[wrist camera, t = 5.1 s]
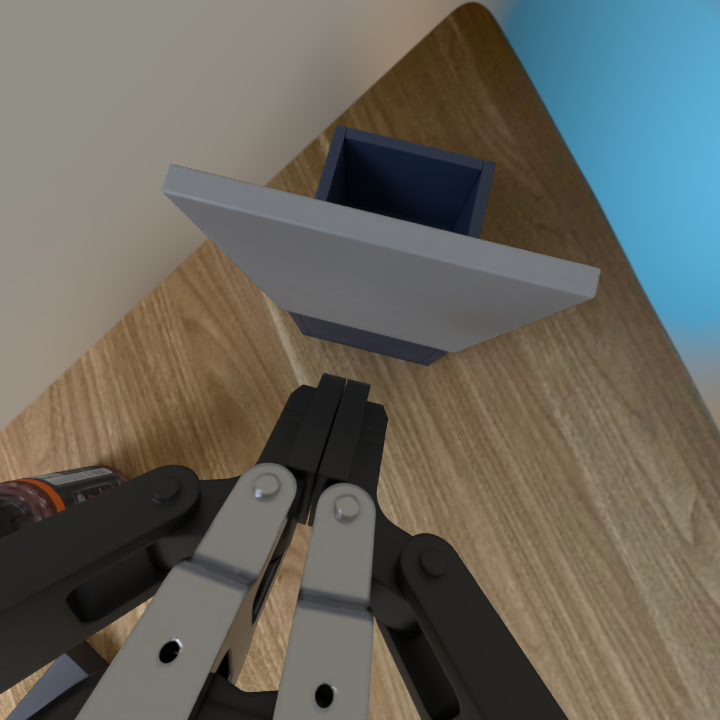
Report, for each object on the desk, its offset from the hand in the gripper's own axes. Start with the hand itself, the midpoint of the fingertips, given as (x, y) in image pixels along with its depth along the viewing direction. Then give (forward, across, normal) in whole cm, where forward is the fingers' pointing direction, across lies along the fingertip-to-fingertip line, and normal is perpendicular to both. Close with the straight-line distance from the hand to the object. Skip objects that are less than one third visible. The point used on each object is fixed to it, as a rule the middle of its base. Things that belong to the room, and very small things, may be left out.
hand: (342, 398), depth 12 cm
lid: (+6, 0, -1) cm, 6 cm away
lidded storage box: (+22, 0, +6) cm, 23 cm away
